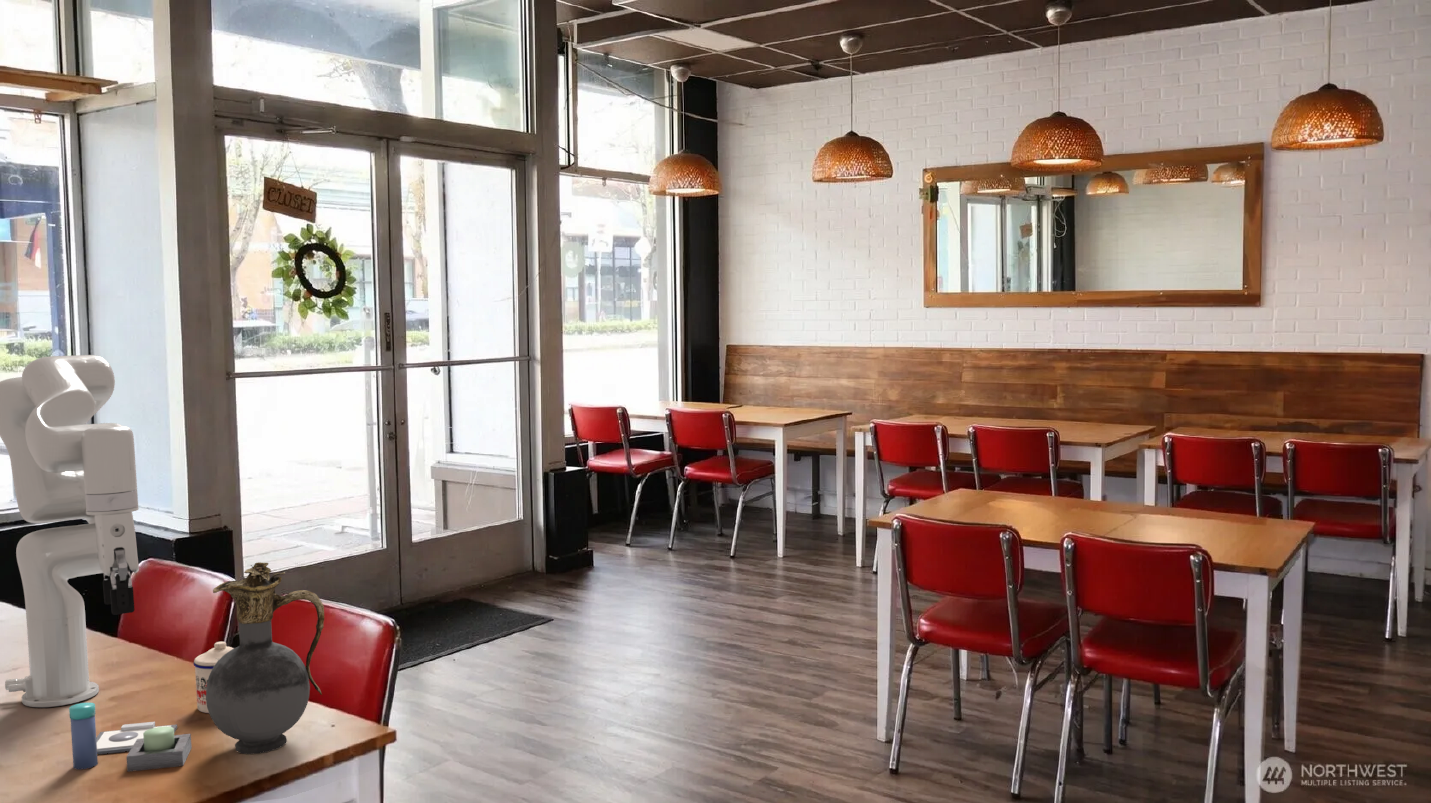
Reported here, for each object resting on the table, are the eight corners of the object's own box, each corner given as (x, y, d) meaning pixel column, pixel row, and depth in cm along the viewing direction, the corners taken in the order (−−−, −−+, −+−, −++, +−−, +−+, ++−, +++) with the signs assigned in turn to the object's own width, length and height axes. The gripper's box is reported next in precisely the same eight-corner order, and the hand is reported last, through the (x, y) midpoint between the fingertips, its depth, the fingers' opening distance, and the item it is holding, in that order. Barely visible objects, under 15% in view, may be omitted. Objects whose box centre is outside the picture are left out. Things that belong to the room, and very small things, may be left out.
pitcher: (201, 748, 195) (192, 566, 193) (318, 722, 207) (311, 550, 204) (219, 767, 187) (209, 577, 184) (340, 739, 198) (332, 560, 196)
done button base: (127, 771, 186) (126, 756, 185) (138, 753, 193) (137, 739, 193) (183, 765, 188) (182, 750, 187) (191, 748, 195) (190, 733, 195)
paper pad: (85, 755, 193) (85, 748, 193) (100, 734, 203) (100, 727, 202) (166, 747, 196) (166, 739, 196) (177, 726, 206) (177, 719, 205)
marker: (70, 770, 186) (66, 711, 186) (75, 762, 190) (72, 704, 189) (95, 768, 187) (91, 708, 187) (100, 760, 191) (97, 701, 190)
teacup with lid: (185, 708, 215) (182, 644, 214) (232, 694, 223) (229, 633, 222) (222, 721, 208) (219, 655, 207) (269, 706, 215) (266, 643, 214)
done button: (141, 756, 188) (140, 737, 187) (147, 746, 192) (146, 728, 192) (172, 753, 189) (171, 734, 189) (177, 743, 193) (176, 725, 193)
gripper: (145, 505, 188) (152, 613, 188) (130, 495, 202) (137, 596, 203) (91, 510, 183) (99, 621, 184) (80, 500, 198) (87, 603, 199)
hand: (119, 608), depth 194 cm, fingers open, 9 cm apart
